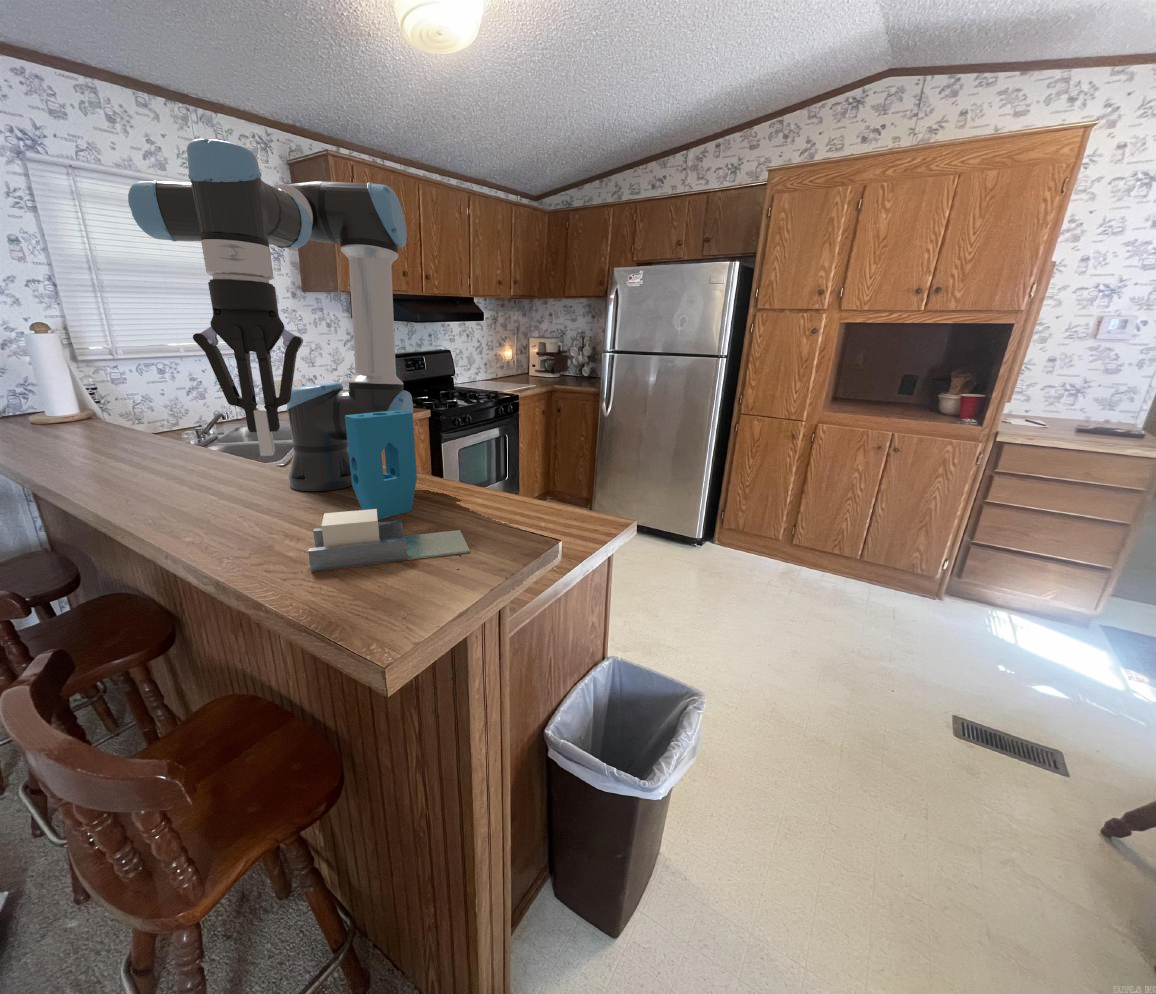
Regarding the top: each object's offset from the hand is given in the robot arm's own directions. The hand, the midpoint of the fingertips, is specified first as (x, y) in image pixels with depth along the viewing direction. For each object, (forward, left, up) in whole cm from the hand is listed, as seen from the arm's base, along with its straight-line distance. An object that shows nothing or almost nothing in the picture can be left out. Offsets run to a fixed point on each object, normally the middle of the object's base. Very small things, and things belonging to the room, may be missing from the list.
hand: (268, 453), depth 74 cm
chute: (0, +16, -18) cm, 24 cm away
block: (-20, +16, -18) cm, 31 cm away
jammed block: (0, +10, -18) cm, 20 cm away
